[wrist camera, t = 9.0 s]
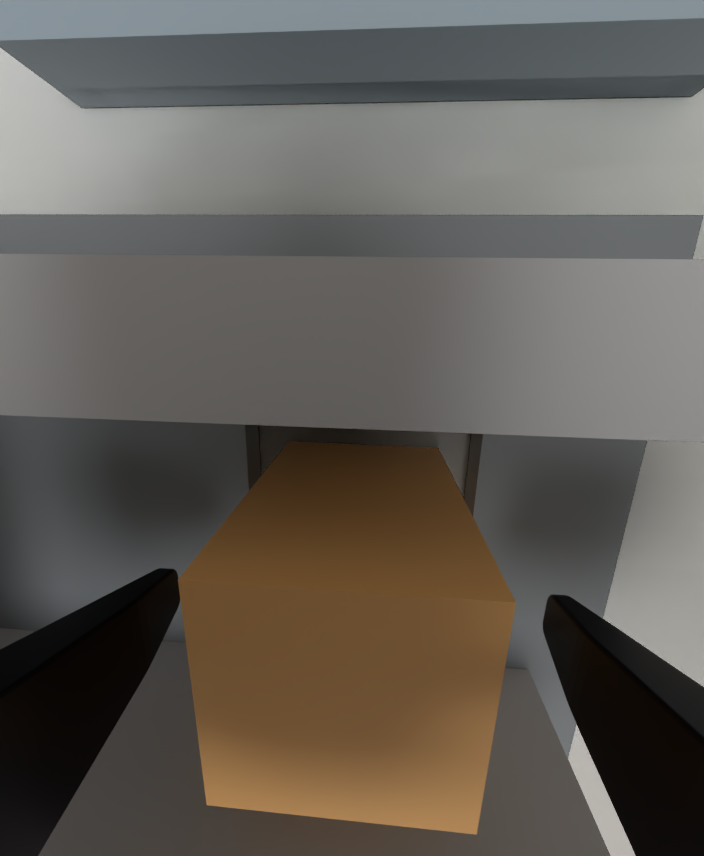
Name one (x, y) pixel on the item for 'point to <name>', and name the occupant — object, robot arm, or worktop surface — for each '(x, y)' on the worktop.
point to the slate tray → (355, 50)
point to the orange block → (348, 642)
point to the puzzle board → (211, 467)
